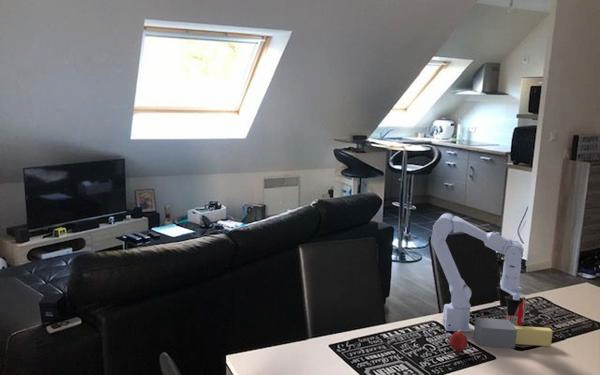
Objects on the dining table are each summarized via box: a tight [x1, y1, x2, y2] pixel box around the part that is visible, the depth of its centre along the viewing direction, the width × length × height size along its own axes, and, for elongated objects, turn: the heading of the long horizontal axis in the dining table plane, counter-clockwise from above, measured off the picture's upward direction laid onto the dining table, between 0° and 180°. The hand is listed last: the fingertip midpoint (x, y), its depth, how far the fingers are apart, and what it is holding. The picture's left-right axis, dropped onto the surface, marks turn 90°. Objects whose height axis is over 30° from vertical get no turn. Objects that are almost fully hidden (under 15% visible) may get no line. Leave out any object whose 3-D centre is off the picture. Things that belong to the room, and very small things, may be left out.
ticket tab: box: [515, 325, 554, 347], centre depth 171 cm, size 16×2×6 cm, turn 86°
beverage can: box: [505, 292, 527, 326], centre depth 186 cm, size 6×6×12 cm
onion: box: [449, 330, 468, 353], centre depth 164 cm, size 6×6×8 cm
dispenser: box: [473, 317, 517, 349], centre depth 172 cm, size 12×8×7 cm, turn 86°
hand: (507, 310), depth 174 cm, fingers open, 7 cm apart
